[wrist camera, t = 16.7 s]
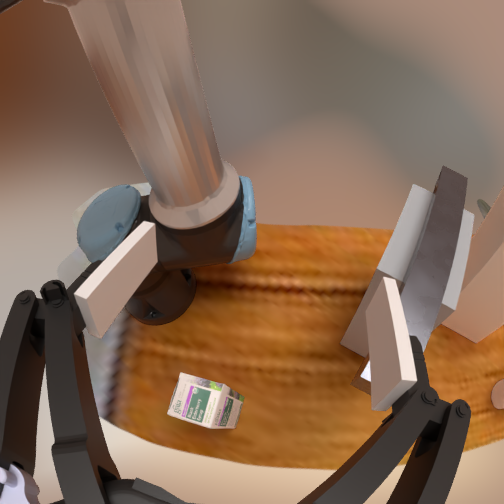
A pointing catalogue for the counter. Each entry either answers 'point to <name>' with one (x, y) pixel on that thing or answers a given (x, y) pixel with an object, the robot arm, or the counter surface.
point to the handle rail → (428, 264)
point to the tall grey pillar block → (398, 262)
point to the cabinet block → (482, 280)
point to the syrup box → (205, 403)
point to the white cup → (498, 395)
